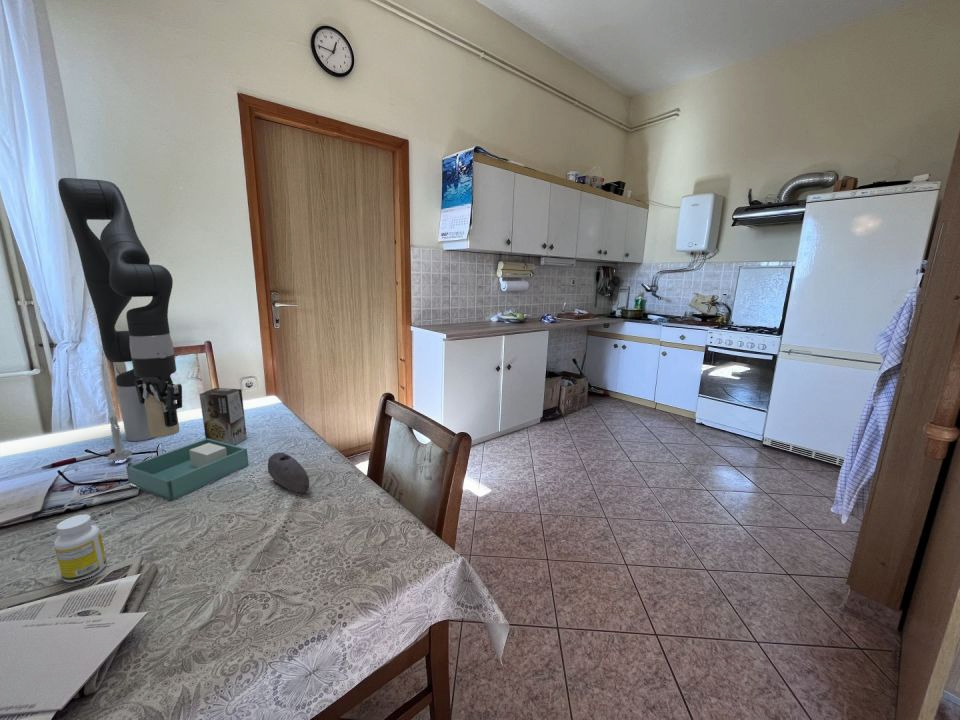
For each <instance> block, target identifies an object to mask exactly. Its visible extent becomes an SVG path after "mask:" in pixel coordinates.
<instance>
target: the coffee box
mask: <svg viewBox="0 0 960 720" xmlns="http://www.w3.org/2000/svg"><path fill="white" fill-rule="evenodd" d="M243 401H244V400H243V392H242V388H223V387H220V388H218V387H214V388H212V389H209V390H206V391H205V392H202V393H199V402H200V407H201V413H202V421H203V429H204V433H205V439H207V438H208V439H212V440H216V441H220V442H223V443H227V444H231V445H235V446H237V445H238V444H239V443H241V442H243V441H245V440H247V438H248V436H247V427H246V420H245V419H246V417H245V408H244V402H243Z"/></svg>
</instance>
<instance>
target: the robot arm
mask: <svg viewBox="0 0 960 720" xmlns="http://www.w3.org/2000/svg"><path fill="white" fill-rule="evenodd" d="M57 185H58V187H57V188H58V192H59V197H60V200H61V204H62V207H63V209H64V212H65V215H66V217H67V220H68V224H69V227H70V229H71V231H72V234H73V238H74V240H75V243H76V246H77V251H78V254H79V258H80V262H81V266H82V270H83V271H82V272H83V276H84V279H85V283H86V287H87V290H88V292H89V295H90V299H91V301H92V305H93V309H94V310H95V315H96V320H97V325H98V330H99V335H100V340H101V346H102V349H103V353H104V355H105V356H104V357H105V358H106V359H107V361H109V362H111V363H129V362H131V363H132V368H131V369H130V370H127V371H125V372H122V373H119V374H118V375H117V376H116V377H115V382H116V389H117V395H118V399H119V405H120V411H121V416H122V422H123V428H124V434H125V439H126V440H127V441H129V442H139V441H140V442H141V441H147V440H152V439H155V437H151V436H150V432H149V426H148V420H147V414H146V408H145V400H146V399H147V398H148V397H149V396H150V395H153V396H155V398H156V400H157V402H158V403H160V404H161V406H162V408H163V411H164V412H163V413H164V420H165V426H167V427H171V426H174V425H177V423H179V421H178V422H177V416H178V414H177V415H176V409H177V410H178V409H181V408H183V385H182V384H181V383H178V384H177V383H176V384H175V383H174V382H173V380H172V377H171V375H173V374H174V373H176V372H177V365H176V358H175V351H174V344H173V340H172V338H171V337H172V336H171V332H170V325H169V317H168V313H169V303H170V299H171V294H172V292H173V291H172V290H173V284H174V280H173V277H172V274H171V272H170V271H169V270H168V269H167V268H166V267H165V266H164V265H161V264H160V265H159V264H150V261H151V260H150V259H151V258H150V256H149V254H148V252H147V250H146V248H145V247H144V245H143V244H142V242H141V240H140V238H139V236H138V234H137V231H136V229H135V225H134V222H133V219H132V216H131V213H130V211H129V208H128V205H127V203H126V199H125V197H124V194H123V193H122V191H121V190H120V188H119V187H118V186H117V184H115V182H114V183H113V182H112V181H109V180H103V179H92V178H91V179H89V178H75V177H61V178H60V179H59V180H58V183H57ZM88 220H91V221H93V220H95V221H97V220H99V221H100V220H101V221H104V220H105V221H109V222H108V223H107V224H106V225H105V226H104V228H103V229H102V231H101V233H100V236H99V237H98V236H97V234H95V233H94V232H93V230H92V229H91V228H90V226H89V224H88ZM136 297H137V298H139V297H141V298H142V297H143V298H144V297H149V298H150V297H152V299H150V300H151V301H150V302H149V303H148V304H146V305H144V306H139V307H134V308H131V309H129V310H126V311H127V312H126V315H125V316H126V322H127V323H126V324H127V329H128V330H116V324H117V322H118V320H119V317H120V316H121V314H122V312H123V311H124V310H125V308H126V307H127V305H128V304H129V303H130V301H131V300H132V298H136ZM165 396H167V398H161V397H165ZM166 401H167V404H166Z"/></svg>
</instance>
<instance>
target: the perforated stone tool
mask: <svg viewBox="0 0 960 720" xmlns="http://www.w3.org/2000/svg"><path fill="white" fill-rule="evenodd" d="M267 471H268V474H269V476H270V477H271V478H272V479H273V480H274V481H275V482H276V483H277V484H279V485H281V486H283V487H284V488H286V489H288V490H290V491H292V492H296V493H300V494H302V493H306V492H307V491H309V488H310V478H309V476H308V475H309V474H308V473H307V471H306V469H305V468H304V466H302V464H301V463H300V462H298V461H297V459H295V457H293V456H291V455H289V454H287V453H286V452H285V453H284V452H276V453H273V454H272V455H270V457H268V461H267Z"/></svg>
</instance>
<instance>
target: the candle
mask: <svg viewBox="0 0 960 720" xmlns="http://www.w3.org/2000/svg"><path fill="white" fill-rule="evenodd" d="M161 398H167V396H165V397H161ZM166 404H167V401H166ZM145 408H146V414H147V420H148V426H149V432H150V436H151V437H155V438H159V439H160V438H164V437H165V438H166V437H170V436H173V435H174V436H175V435H176V434H177V433H179V432H180V424H179V417H178V411H177V410H178V409H176V415H177V422H178V423H177V425H174V426H171V427H167V426H165V420H164V413H163V412H164V411H163V408H162V406H161V404H160V403H158V402H157V400H156V398H155V396H153V395H150V396H149V397H148V398H147V399H146V400H145ZM155 438H154V439H155Z"/></svg>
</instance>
